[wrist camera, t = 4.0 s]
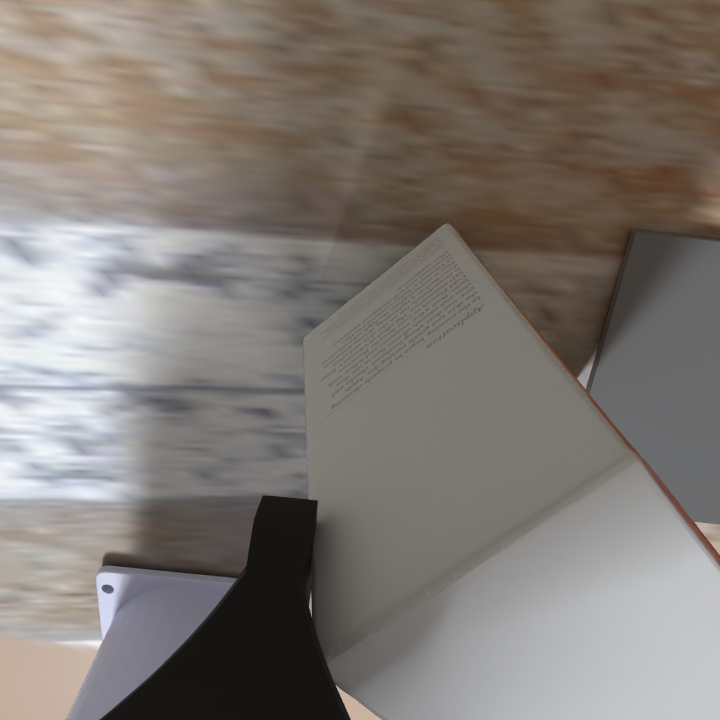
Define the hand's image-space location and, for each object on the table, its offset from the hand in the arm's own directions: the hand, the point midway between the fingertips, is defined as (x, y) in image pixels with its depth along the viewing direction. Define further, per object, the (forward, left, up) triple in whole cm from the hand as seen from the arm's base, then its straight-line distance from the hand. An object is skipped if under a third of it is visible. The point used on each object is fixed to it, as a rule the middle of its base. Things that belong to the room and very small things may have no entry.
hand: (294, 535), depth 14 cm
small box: (0, -4, -10) cm, 11 cm away
